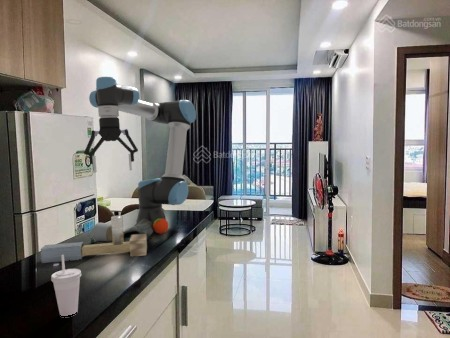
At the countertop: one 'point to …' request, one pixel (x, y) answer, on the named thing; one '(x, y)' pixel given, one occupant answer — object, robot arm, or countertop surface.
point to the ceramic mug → (102, 232)
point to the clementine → (160, 226)
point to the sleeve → (61, 252)
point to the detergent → (139, 230)
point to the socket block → (138, 245)
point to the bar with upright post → (113, 247)
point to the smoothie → (67, 289)
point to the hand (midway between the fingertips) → (113, 171)
